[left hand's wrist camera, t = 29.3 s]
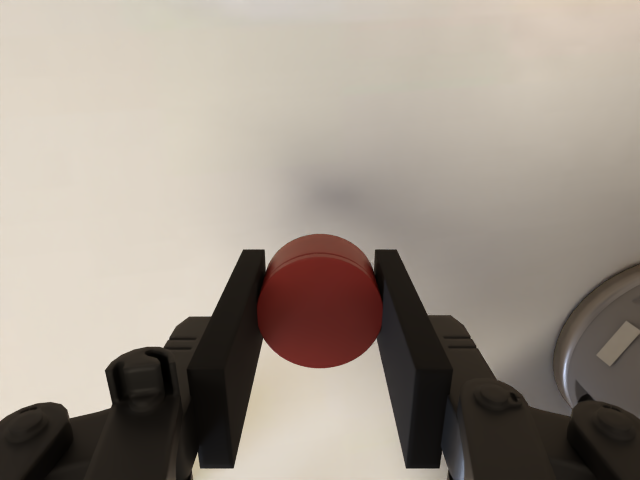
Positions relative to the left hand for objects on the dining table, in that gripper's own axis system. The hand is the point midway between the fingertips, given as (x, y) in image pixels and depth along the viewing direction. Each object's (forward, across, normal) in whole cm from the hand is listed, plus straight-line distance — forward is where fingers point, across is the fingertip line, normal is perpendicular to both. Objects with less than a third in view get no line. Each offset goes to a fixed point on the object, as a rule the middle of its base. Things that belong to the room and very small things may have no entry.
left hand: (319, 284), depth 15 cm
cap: (-2, 0, 0) cm, 2 cm away
